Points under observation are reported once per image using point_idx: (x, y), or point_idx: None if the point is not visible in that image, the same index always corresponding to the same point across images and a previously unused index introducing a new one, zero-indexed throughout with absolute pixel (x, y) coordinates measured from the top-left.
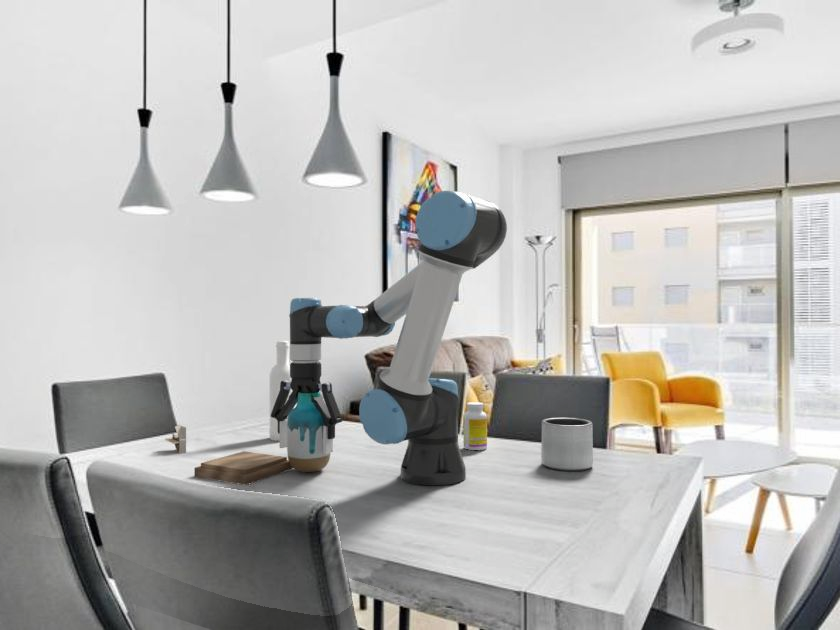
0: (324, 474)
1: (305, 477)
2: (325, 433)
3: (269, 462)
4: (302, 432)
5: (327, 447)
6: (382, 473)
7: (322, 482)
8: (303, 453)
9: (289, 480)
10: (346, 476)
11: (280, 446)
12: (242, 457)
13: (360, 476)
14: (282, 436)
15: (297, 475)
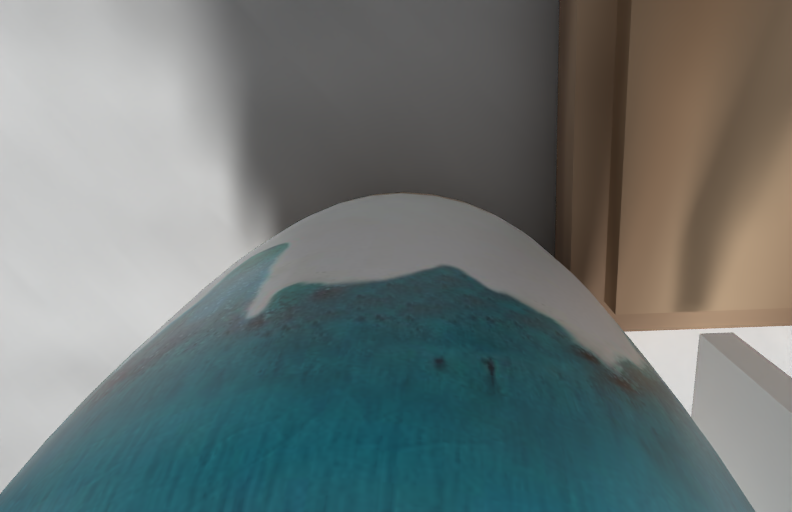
0: None
1: (318, 183)
2: None
3: (629, 83)
4: (223, 292)
5: None
6: (11, 478)
7: (129, 144)
8: (297, 222)
9: (356, 58)
10: (119, 334)
11: (728, 339)
12: None
13: (55, 373)
14: (774, 408)
15: None
